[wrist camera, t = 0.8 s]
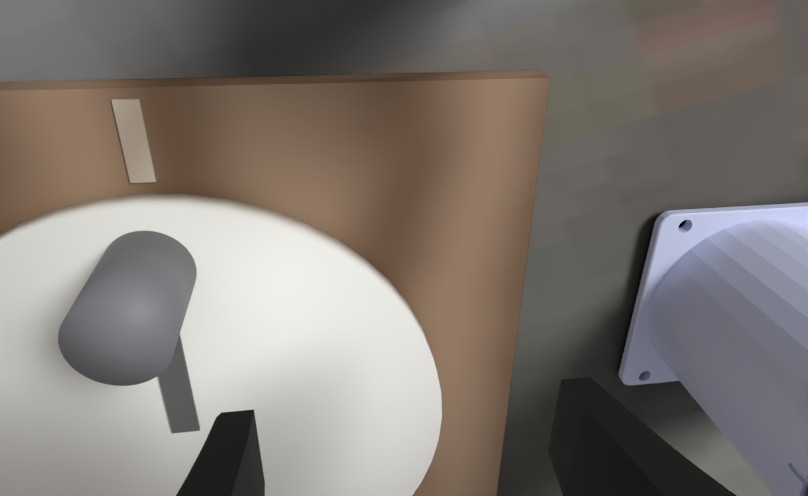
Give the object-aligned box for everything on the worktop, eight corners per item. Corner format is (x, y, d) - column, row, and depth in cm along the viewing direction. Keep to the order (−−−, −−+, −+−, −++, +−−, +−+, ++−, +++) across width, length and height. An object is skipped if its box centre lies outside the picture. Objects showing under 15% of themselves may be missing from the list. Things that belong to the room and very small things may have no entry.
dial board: (538, 70, 18) (551, 79, 17) (481, 553, 30) (487, 574, 29) (-359, 90, 15) (-403, 101, 14) (-34, 622, 27) (-47, 648, 26)
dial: (429, 545, 27) (450, 650, 23) (5, 601, 25) (-51, 728, 21) (447, 179, 18) (486, 248, 14) (-205, 209, 16) (-370, 302, 12)
